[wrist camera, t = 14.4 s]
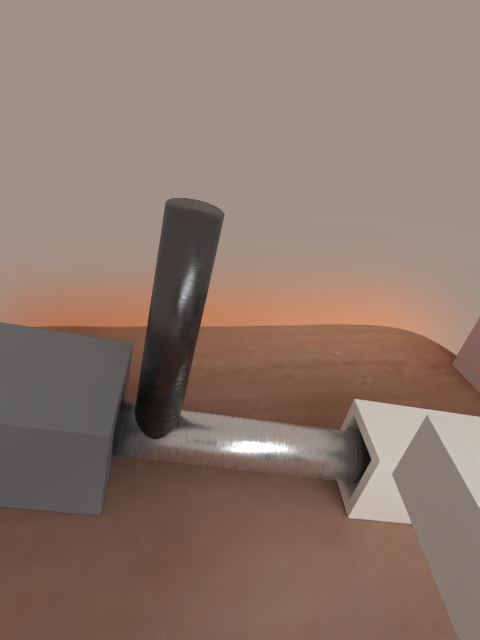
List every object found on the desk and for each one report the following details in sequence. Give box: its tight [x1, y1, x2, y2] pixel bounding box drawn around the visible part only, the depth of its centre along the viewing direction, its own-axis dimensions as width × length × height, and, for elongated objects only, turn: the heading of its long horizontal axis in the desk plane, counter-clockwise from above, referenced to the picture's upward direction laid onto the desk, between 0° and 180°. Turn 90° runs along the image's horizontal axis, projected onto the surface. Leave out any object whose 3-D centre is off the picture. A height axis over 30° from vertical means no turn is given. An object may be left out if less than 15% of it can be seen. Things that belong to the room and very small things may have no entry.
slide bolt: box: [111, 198, 371, 483], centre depth 28 cm, size 26×4×18 cm, turn 93°
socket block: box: [0, 322, 133, 516], centre depth 29 cm, size 10×9×7 cm
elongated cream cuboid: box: [337, 399, 480, 524], centre depth 35 cm, size 20×6×6 cm, turn 93°
